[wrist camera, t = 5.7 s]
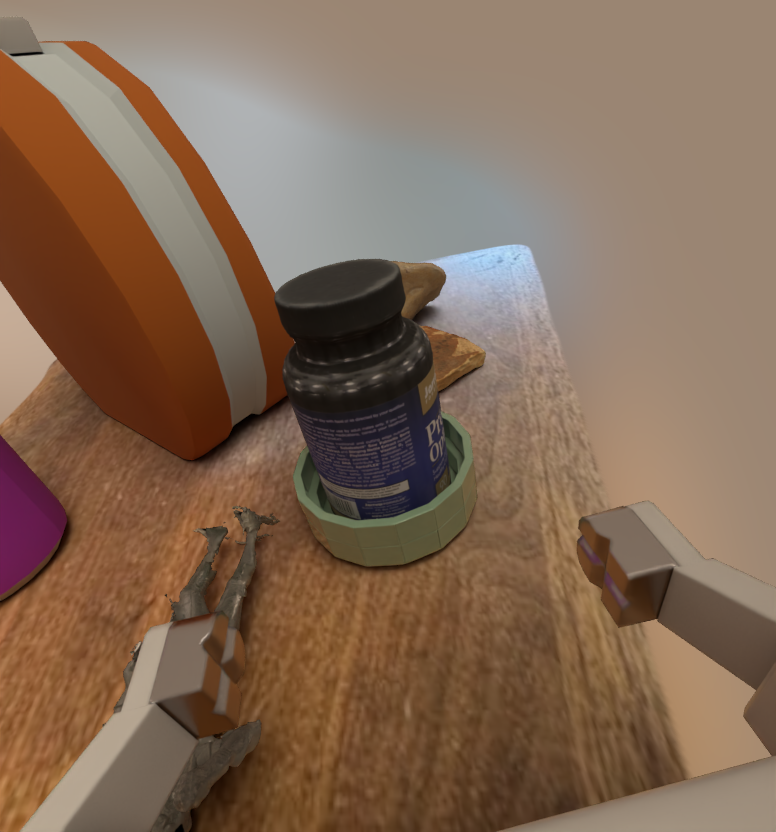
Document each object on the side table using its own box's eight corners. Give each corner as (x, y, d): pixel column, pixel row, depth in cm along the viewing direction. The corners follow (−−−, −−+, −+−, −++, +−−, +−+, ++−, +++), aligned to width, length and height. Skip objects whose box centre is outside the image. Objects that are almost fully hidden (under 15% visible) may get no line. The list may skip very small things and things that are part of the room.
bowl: (434, 428, 26) (427, 386, 25) (510, 526, 20) (508, 478, 18) (299, 477, 25) (282, 437, 23) (332, 602, 18) (312, 557, 17)
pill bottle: (471, 520, 20) (444, 283, 13) (340, 561, 19) (249, 335, 13) (430, 441, 25) (397, 240, 19) (326, 471, 24) (255, 277, 18)
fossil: (457, 252, 34) (327, 253, 33) (462, 306, 34) (330, 310, 32) (431, 299, 43) (328, 301, 42) (435, 342, 42) (330, 346, 41)
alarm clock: (338, 394, 31) (203, -57, 18) (225, 483, 26) (-89, -81, 13) (181, 347, 44) (36, 63, 31) (82, 400, 38) (-146, 79, 25)
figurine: (280, 477, 20) (139, 833, 9) (326, 534, 21) (251, 888, 11) (176, 521, 21) (-40, 865, 11) (227, 571, 23) (81, 908, 13)
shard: (370, 446, 26) (363, 422, 25) (306, 403, 31) (299, 382, 30) (490, 366, 31) (489, 343, 30) (417, 340, 36) (414, 320, 35)
